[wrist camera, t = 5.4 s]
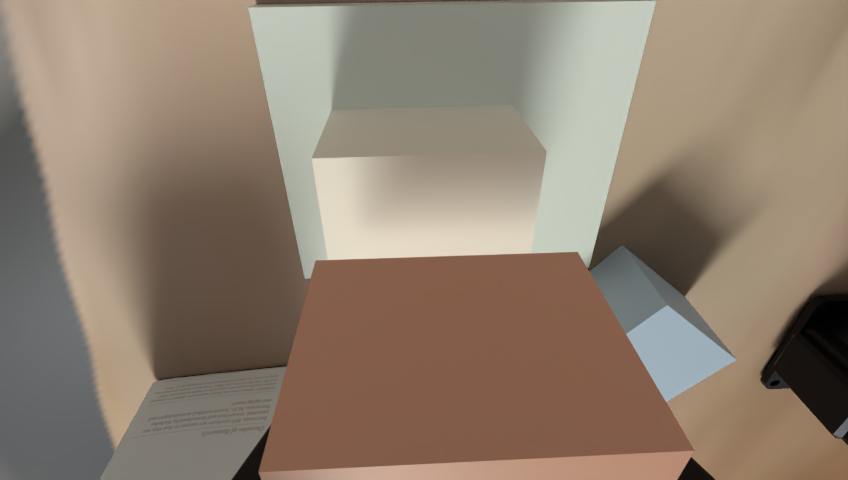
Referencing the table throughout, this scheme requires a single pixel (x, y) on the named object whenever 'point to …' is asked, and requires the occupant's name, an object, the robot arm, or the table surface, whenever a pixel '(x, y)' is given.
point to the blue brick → (660, 324)
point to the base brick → (428, 182)
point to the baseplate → (460, 88)
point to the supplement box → (197, 426)
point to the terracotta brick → (467, 377)
